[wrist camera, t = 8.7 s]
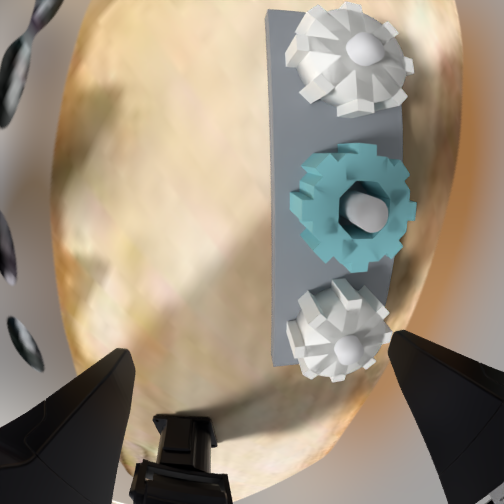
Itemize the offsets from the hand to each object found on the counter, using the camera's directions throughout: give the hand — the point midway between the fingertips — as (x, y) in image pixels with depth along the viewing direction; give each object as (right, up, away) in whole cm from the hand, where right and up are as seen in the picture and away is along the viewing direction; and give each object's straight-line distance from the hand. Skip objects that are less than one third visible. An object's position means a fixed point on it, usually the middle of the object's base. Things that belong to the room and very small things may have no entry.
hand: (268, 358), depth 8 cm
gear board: (+5, +7, +10) cm, 13 cm away
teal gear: (+5, +7, +8) cm, 12 cm away
